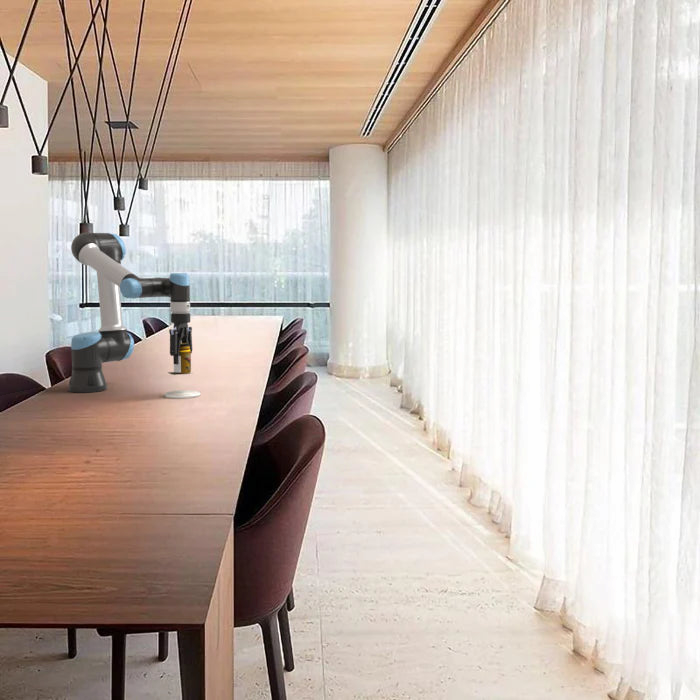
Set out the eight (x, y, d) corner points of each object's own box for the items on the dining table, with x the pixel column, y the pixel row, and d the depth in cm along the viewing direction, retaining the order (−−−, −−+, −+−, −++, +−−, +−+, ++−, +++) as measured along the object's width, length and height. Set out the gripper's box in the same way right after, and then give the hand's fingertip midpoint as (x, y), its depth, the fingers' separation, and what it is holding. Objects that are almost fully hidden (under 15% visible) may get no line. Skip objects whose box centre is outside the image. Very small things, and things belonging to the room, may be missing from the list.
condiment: (194, 373, 308) (194, 343, 306) (174, 375, 303) (173, 344, 302) (187, 371, 314) (187, 341, 312) (167, 373, 309) (166, 343, 308)
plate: (157, 397, 305) (157, 394, 305) (175, 391, 319) (175, 388, 319) (189, 399, 301) (189, 396, 301) (206, 393, 314) (206, 390, 314)
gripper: (176, 314, 296) (177, 374, 299) (200, 311, 314) (201, 368, 317) (159, 314, 298) (160, 374, 301) (184, 310, 316) (185, 367, 319)
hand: (181, 371), depth 309 cm, fingers closed on condiment, 6 cm apart
